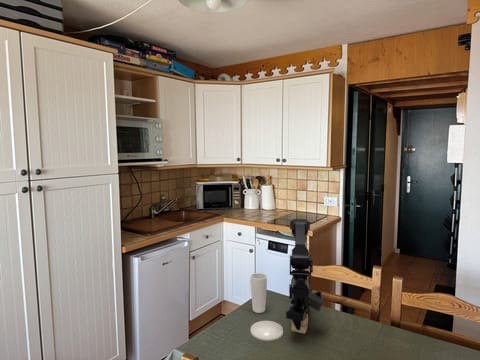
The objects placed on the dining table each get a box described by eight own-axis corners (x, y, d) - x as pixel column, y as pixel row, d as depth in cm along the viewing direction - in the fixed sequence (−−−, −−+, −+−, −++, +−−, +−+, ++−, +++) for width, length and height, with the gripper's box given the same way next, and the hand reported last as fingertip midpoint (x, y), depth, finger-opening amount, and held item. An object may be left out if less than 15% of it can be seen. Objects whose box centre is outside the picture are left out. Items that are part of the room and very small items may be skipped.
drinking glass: (265, 315, 138) (265, 279, 136) (249, 313, 139) (249, 278, 137) (267, 307, 144) (267, 273, 142) (252, 305, 146) (251, 272, 144)
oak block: (294, 324, 130) (294, 311, 130) (307, 326, 128) (307, 314, 128) (291, 330, 126) (291, 318, 125) (305, 333, 124) (305, 320, 123)
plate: (256, 320, 133) (256, 318, 133) (286, 326, 129) (286, 324, 129) (245, 337, 122) (245, 334, 122) (277, 344, 118) (277, 341, 118)
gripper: (317, 301, 113) (317, 344, 115) (326, 279, 130) (325, 318, 132) (285, 295, 118) (285, 337, 119) (297, 275, 135) (297, 312, 137)
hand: (299, 326), depth 127 cm, fingers closed on oak block, 5 cm apart
